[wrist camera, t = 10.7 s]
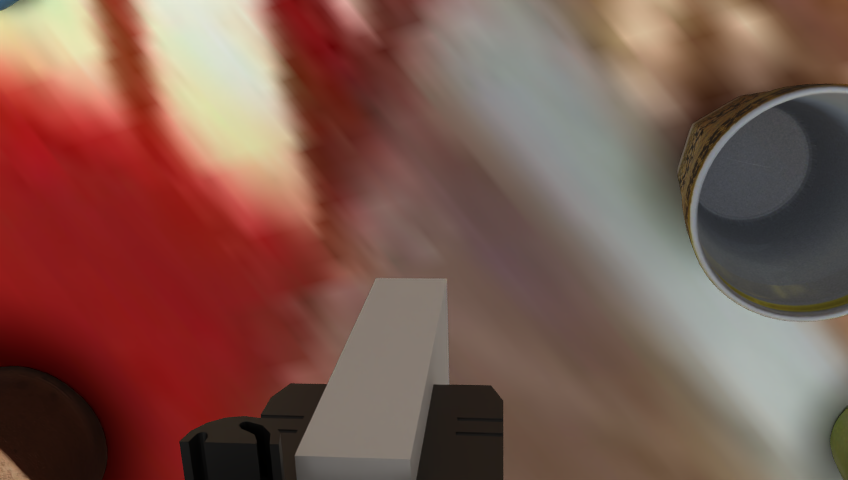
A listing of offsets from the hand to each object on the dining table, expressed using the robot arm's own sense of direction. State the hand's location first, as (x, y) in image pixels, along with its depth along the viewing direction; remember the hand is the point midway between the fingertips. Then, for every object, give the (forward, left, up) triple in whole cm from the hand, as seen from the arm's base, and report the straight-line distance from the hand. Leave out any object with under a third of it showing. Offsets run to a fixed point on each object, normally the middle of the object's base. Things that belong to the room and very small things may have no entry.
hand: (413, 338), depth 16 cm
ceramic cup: (-2, -16, -27) cm, 31 cm away
